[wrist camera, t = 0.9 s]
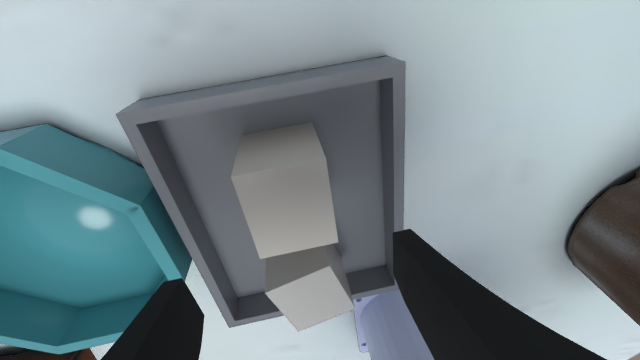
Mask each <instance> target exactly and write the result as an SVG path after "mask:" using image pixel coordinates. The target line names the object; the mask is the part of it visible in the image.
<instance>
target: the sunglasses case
mask: <svg viewBox="0 0 640 360" xmlns="http://www.w3.org/2000/svg"><path fill="white" fill-rule="evenodd" d="M0 360H97V359H96V358H95V356H94V354H93V353H92V352H91V350H90V348H86V349H81V350H77V351H72V352H68V353H63V354H54V353H49V352H43V351H38V350H35V351H29V352H23V353H19V354H15V355H12V356H1V357H0Z"/></svg>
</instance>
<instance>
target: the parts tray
mask: <svg viewBox="0 0 640 360" xmlns="http://www.w3.org/2000/svg"><path fill="white" fill-rule="evenodd" d="M116 116H117V118H118V120H119V121H120V123H121V125H122V127H123V129H124V131H125V133H126V135H127V137H128V138H129V140H130V142H131V144H132V146H133V148H134V150H135V152H136V153H137V155H138V157H139V159H140V161H141V163H142V165H143V167H144V169H145V170H146V172H147V174H148V176H149V178H150V180H151V182H152V184H153V185H154V187H155V189H156V191H157V193H158V195H159V197H160V199H161V201H162V202H163V204H164V206H165V208H166V210H167V212H168V214H169V216H170V217H171V219H172V221H173V223H174V225H175V227H176V229H177V231H178V233H179V234H180V236H181V238H182V240H183V242H184V244H185V246H186V248H187V249H188V251H189V253H190V255H191V257H192V259H193V261H194V263H195V265H196V266H197V268H198V270H199V272H200V274H201V276H202V278H203V280H204V281H205V283H206V285H207V287H208V289H209V291H210V293H211V295H212V297H213V298H214V300H215V302H216V304H217V306H218V308H219V310H220V312H221V313H222V315H223V317H224V319H225V321H226V323H227V325H228V327H229V328H230V327H235V326H239V325H244V324H248V323H253V322H257V321H262V320H266V319H270V318H275V317H279V316H284V315H283V313H282V312H281V311H280V310H279V309H278V308H277V306H276V305H275V304H274V303H273V302H272V301H271V300H270V298H269V297H268V296H267V295H266V294H265V269H266V258H263V259H260V257H259V255H258V252H257V249H256V246H255V243H254V241H253V238H252V235H251V232H250V229H249V227H248V224H247V221H246V218H245V215H244V213H243V210H242V207H241V204H240V201H239V199H238V196H237V193H236V190H235V187H234V185H233V182H232V179H231V174H232V171H233V167H234V163H235V159H236V155H237V151H238V147H239V143H240V140H241V136H242V135H246V134H251V133H256V132H262V131H267V130H272V129H277V128H283V127H288V126H293V125H299V124H304V123H309V122H312V123H313V126H314V128H315V131H316V134H317V136H318V139H319V141H320V144H321V147H322V149H323V152H324V154H325V157H326V162H327V168H328V175H329V182H330V189H331V196H332V202H333V209H334V216H335V223H336V229H337V236H338V243H333V245H334V246H335V248H336V250H337V252H338V253H339V255H340V257H341V260H342V263H343V267H344V270H345V274H346V277H347V281H348V284H349V288H350V291H351V295H352V298H353V300H355V299H359V298H363V297H368V296H372V295H377V294H381V293H386V292H390V291H394V290H399V287H398V285H397V282H396V279H395V277H394V274H393V232H398V231H402V230H403V213H404V135H405V61H402V60H399V59H395V58H392V57H389V56H382V57H376V58H370V59H365V60H359V61H354V62H348V63H342V64H337V65H331V66H326V67H320V68H314V69H309V70H303V71H298V72H292V73H286V74H281V75H275V76H270V77H264V78H258V79H253V80H247V81H242V82H236V83H230V84H225V85H219V86H214V87H208V88H202V89H197V90H191V91H186V92H180V93H174V94H169V95H163V96H158V97H152V98H146V99H141V100H138V101H136V102H134V103H133V104H131V105H130V106H128V107H126V108H125V109H123V110H121V111H120V112H118V113H117V114H116Z"/></svg>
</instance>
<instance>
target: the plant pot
mask: <svg viewBox="0 0 640 360" xmlns="http://www.w3.org/2000/svg"><path fill="white" fill-rule="evenodd" d="M568 253H569V255H570V256H571V258H572V260H573V261H572V263H573V265H574V266H575V267H577V268H578V269H579V270H580V271H581V272H582V273H583V274H584V275H586V276H587V277H588V278H589V279H590V280H591V281H592V282H593V283H594V284H595V285H596V286H597V287H598V288H600V289H601V290H602V291H603V292H604V293H605V294H606V295H607V296H608V297H609V298H610V299H611V300H612V301H614V302H615V303H616V304H617V305H618V306H619V307H620V308H621V309H622V310H623V311H624V312H625V313H626V314H628V315H629V316H630V317H631V318H632V319H633V320H634V321H635V322H636V323H637V324H638V325H639V326H640V170H638V171H637V172H636V177H635V179H633V180H632V181H630V182H628V183H625V184H622V185H618V186H613V187H611V188H610V189H608V190H607V191H606V192H605V193H604V194H603V195H601V196H600V197H599V198H598V199H597V200H596V201H595V202H594V203H593V204H592V205H591V206H590V207H589V208H588V209H587V210H586V212H585V213H584V214H583V215H582V217H581V218H580V220H579V221H578V223H577V224H576V226H575V228H574V230H573V232H572V234H571V237H570V240H569V243H568Z"/></svg>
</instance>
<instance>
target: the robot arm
mask: <svg viewBox="0 0 640 360" xmlns="http://www.w3.org/2000/svg"><path fill="white" fill-rule="evenodd" d="M393 274H394V277H395V279H396V282H397V285H398V287H399V290H394V291H390V292H386V293H381V294H377V295H372V296H368V297H363V298H359V299H355V300H353V302H354V305H355V309H354V315H355V323H356V330H357V338H358V345H359V350H360V352H362V353H364V352H369V353H370V357H371V360H607V359H605V358H603V357H601V356H599V355H597V354H595V353H593V352H592V351H590V350H588V349H586V348H584V347H582V346H580V345H578V344H577V343H575V342H573V341H571V340H569V339H567V338H565V337H564V336H562V335H560V334H558V333H556V332H555V331H553V330H551V329H550V328H548V327H546V326H544V325H543V324H541V323H539V322H537V321H536V320H534V319H533V318H531V317H529V316H528V315H526V314H524V313H523V312H521V311H520V310H518V309H516V308H515V307H513V306H512V305H510V304H509V303H507V302H506V301H504V300H503V299H501V298H500V297H498V296H497V295H495V294H494V293H492V292H491V291H489V290H488V289H487V288H485V287H484V286H482V285H481V284H479V283H478V282H477V281H475V280H474V279H472V278H471V277H470V276H468V275H467V274H466V273H464V272H463V271H462V270H460V269H459V268H458V267H457V266H455V265H454V264H453V263H451V262H450V261H449V260H447V259H446V258H445V257H444V256H442V255H441V254H440V253H439V252H437V251H436V250H435V249H434V248H433V247H431V246H430V245H429V244H428V243H427V242H425V241H424V240H423V239H422V238H421V237H419V236H418V235H417V234H416V233H415V232H413V231H412V230H411V229H407V230H402V231H398V232H393ZM203 323H204V314H203V312H202V311H201V309H200V307H199V306H198V304H197V302H196V300H195V299H194V297H193V295H192V294H191V292H190V290H189V289H188V287H187V285H186V284H185V282H184V280H183V278H179V279H174V280H170V281H165V282H163V283H162V284H161V286H160V287H159V288H158V289H157V290H156V292H155V293H154V294H153V295H152V297H151V298H150V299H149V300H148V302H147V303H146V304H145V306H144V307H143V308H142V309H141V311H140V312H139V313H138V314H137V316H136V317H135V318H134V319H133V321H132V322H131V323H130V324H129V326H128V327H127V328H126V329H125V331H124V332H123V333H122V334H121V336H120V337H119V338H118V339H117V341H116V342H115V343H114V344H113V346H112V347H111V348H110V349H109V351H108V352H107V353H106V354H105V355H104V356H103V358H102V359H101V360H198V359H199V354H200V349H201V342H202V334H203Z"/></svg>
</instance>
